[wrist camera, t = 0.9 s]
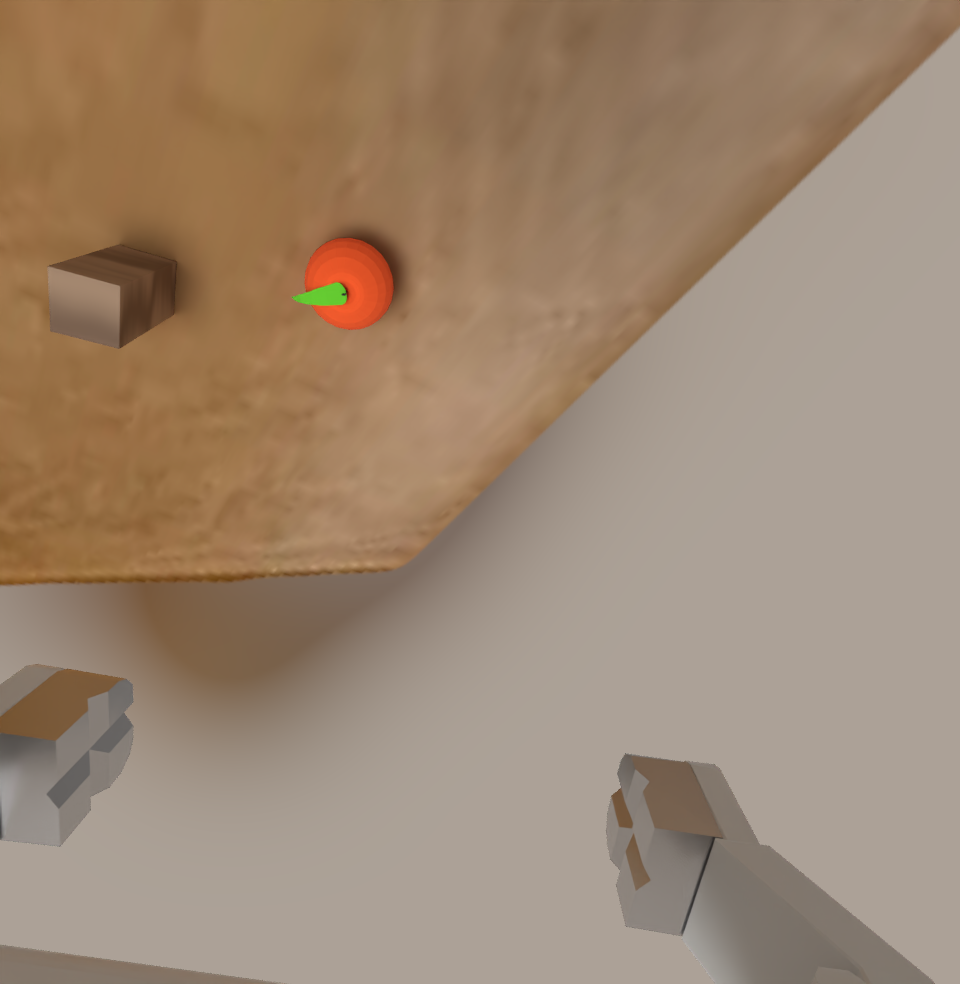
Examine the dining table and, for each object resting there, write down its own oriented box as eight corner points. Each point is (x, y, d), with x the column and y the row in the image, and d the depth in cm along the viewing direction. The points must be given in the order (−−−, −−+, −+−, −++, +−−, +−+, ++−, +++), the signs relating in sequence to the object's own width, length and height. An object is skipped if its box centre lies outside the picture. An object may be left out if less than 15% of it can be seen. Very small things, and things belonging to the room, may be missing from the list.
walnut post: (118, 244, 48) (47, 266, 40) (176, 261, 49) (120, 286, 41) (117, 299, 50) (50, 331, 42) (173, 314, 51) (119, 348, 43)
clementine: (315, 326, 52) (298, 350, 46) (289, 243, 49) (268, 256, 43) (404, 310, 52) (399, 332, 46) (385, 225, 49) (377, 236, 43)
